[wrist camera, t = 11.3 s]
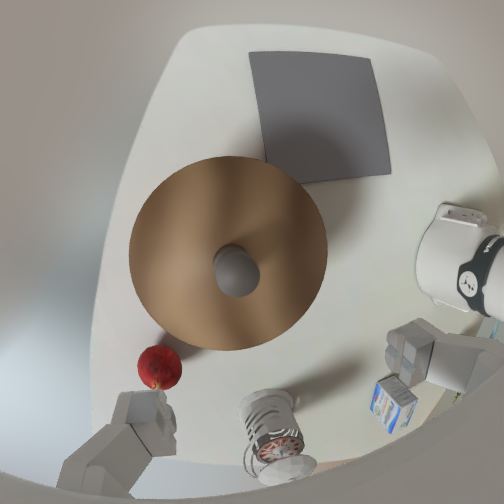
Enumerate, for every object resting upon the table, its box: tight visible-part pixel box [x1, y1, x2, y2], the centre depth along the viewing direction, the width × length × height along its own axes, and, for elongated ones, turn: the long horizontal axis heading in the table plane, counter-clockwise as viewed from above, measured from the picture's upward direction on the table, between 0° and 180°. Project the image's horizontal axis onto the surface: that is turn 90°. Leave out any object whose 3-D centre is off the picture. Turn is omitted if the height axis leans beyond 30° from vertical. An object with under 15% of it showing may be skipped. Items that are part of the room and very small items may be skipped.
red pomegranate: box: [137, 345, 182, 390], centre depth 32 cm, size 6×6×8 cm
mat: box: [249, 51, 391, 184], centre depth 32 cm, size 18×18×1 cm
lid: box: [129, 156, 328, 351], centre depth 22 cm, size 17×17×5 cm
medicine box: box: [370, 376, 418, 434], centre depth 42 cm, size 8×4×9 cm, turn 3°
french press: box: [237, 389, 317, 486], centre depth 30 cm, size 10×12×25 cm
